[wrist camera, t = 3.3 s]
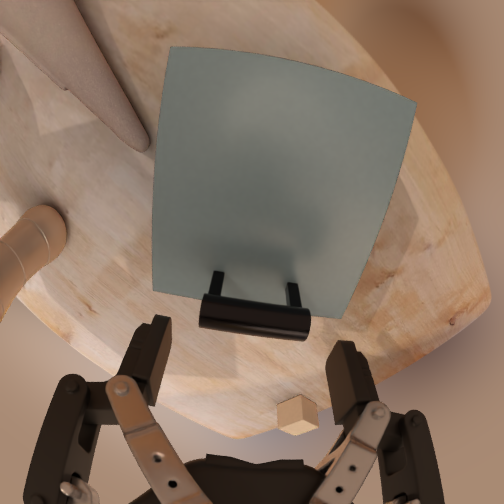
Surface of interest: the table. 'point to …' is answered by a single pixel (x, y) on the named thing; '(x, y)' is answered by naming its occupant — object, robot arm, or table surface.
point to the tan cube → (297, 415)
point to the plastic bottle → (28, 250)
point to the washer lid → (270, 187)
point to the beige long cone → (71, 60)
